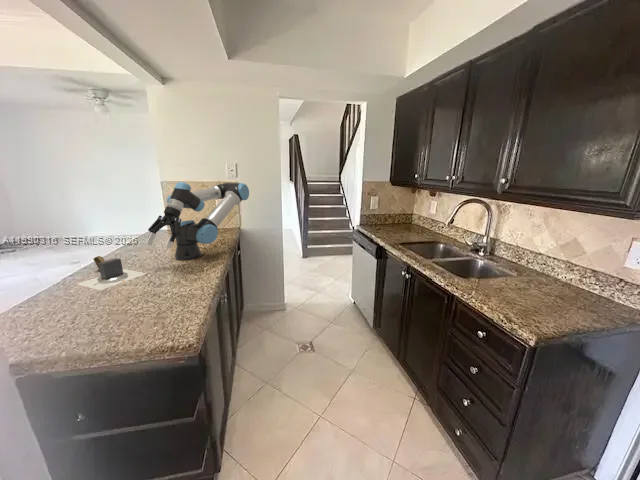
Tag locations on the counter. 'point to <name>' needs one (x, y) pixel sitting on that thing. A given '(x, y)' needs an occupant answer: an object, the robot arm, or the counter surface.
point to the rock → (98, 260)
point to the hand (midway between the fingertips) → (157, 246)
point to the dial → (111, 271)
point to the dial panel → (100, 286)
